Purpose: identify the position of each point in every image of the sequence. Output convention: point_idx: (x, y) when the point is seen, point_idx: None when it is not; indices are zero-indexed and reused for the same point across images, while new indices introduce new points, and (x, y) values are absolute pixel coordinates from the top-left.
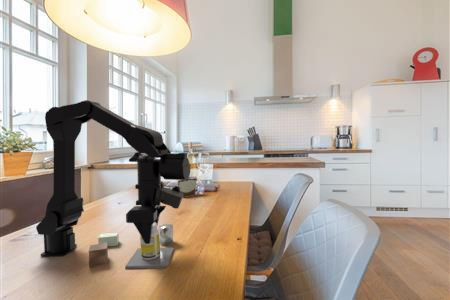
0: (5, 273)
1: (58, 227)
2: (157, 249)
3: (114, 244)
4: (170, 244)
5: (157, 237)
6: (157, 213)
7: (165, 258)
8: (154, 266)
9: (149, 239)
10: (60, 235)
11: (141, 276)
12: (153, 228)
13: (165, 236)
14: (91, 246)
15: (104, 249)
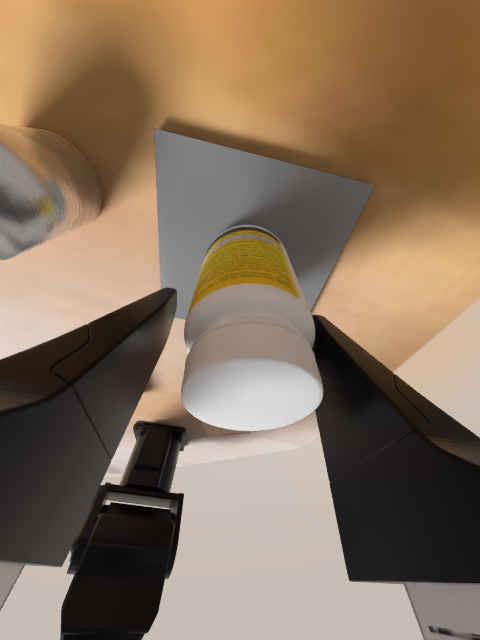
0: (235, 457)
1: (170, 511)
2: (281, 250)
3: None
4: (81, 153)
5: (289, 282)
6: (44, 430)
7: (296, 193)
8: (341, 247)
9: (341, 334)
10: (165, 479)
11: (375, 287)
12: (313, 359)
13: (65, 196)
14: (217, 432)
15: None
